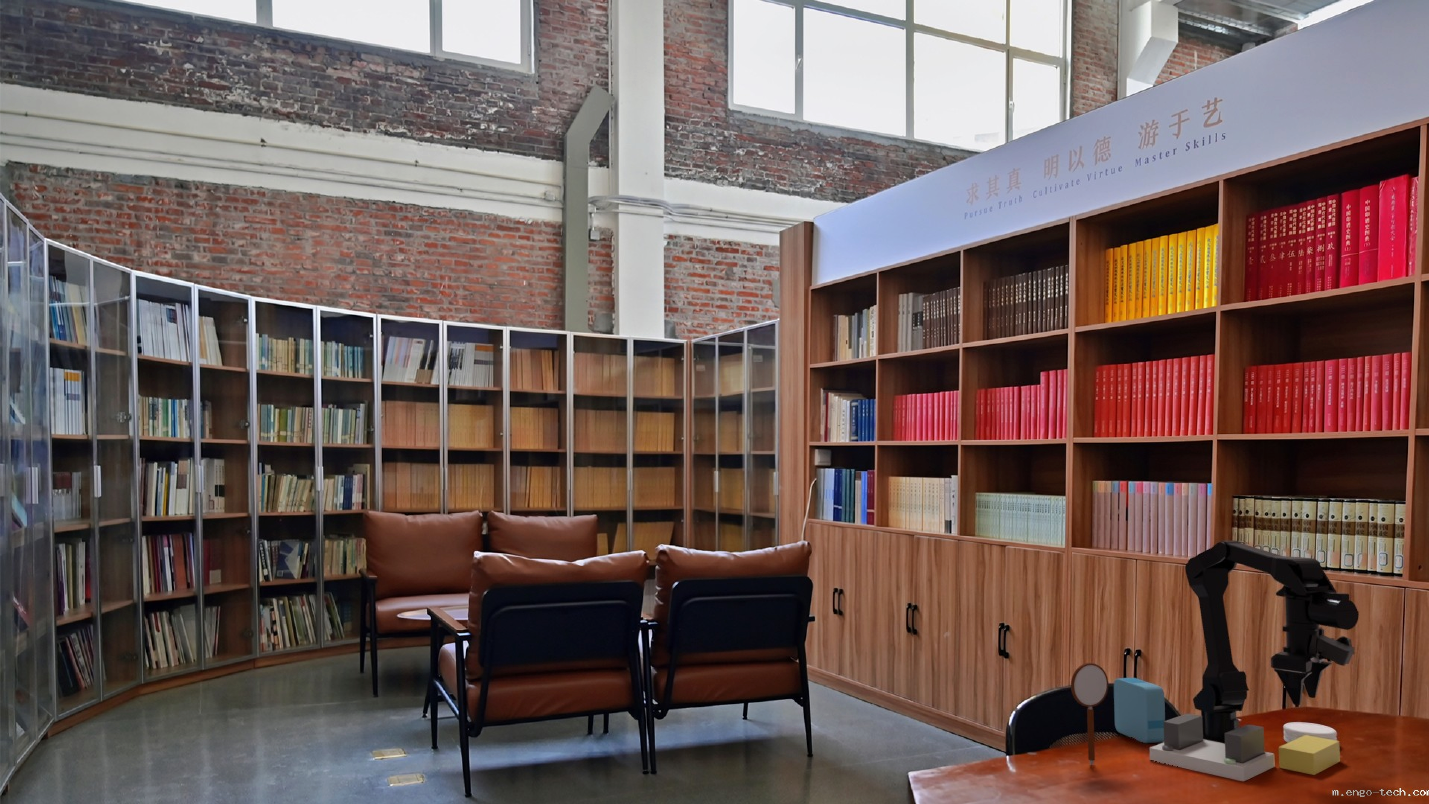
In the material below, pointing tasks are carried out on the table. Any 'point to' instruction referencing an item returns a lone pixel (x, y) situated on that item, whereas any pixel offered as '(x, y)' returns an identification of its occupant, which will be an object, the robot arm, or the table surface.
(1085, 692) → the magnifying glass
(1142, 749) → the table surface
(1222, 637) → the robot arm
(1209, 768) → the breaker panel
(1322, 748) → the pale yellow pad
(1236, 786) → the table surface
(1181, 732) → the block
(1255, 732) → the block
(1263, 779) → the table surface
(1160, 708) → the data package
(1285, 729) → the coaster
